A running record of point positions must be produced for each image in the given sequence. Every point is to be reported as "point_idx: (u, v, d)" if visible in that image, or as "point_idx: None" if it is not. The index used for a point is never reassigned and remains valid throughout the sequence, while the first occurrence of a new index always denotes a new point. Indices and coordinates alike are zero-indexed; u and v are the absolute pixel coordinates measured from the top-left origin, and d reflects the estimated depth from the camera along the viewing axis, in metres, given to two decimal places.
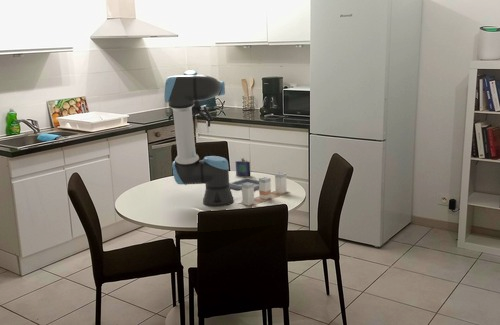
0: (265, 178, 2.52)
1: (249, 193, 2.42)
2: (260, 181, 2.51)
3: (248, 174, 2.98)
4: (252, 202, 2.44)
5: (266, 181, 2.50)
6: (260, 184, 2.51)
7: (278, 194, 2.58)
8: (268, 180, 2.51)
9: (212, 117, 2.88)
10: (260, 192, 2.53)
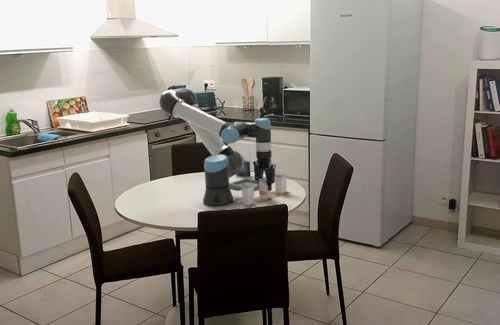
0: (265, 178, 2.52)
1: (249, 193, 2.42)
2: (260, 181, 2.51)
3: (248, 174, 2.98)
4: (252, 202, 2.44)
5: (266, 181, 2.50)
6: (260, 184, 2.51)
7: (278, 194, 2.58)
8: None
9: (274, 181, 2.48)
10: (260, 192, 2.53)
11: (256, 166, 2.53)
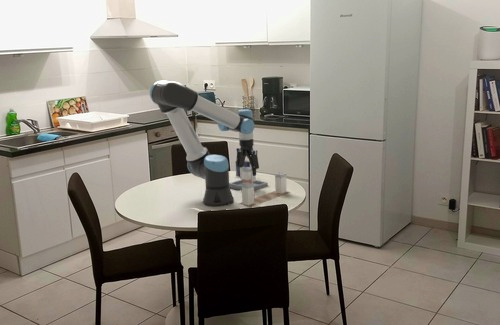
0: (248, 168, 2.74)
1: (249, 193, 2.42)
2: (243, 170, 2.73)
3: None
4: (252, 202, 2.44)
5: (249, 170, 2.72)
6: (243, 173, 2.74)
7: (278, 194, 2.58)
8: None
9: (258, 167, 2.69)
10: (243, 181, 2.75)
11: (239, 153, 2.75)
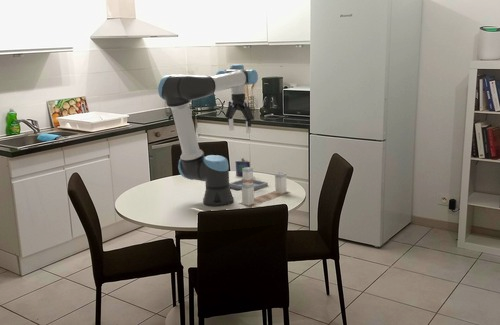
0: (248, 168, 2.74)
1: (249, 193, 2.42)
2: (243, 170, 2.73)
3: None
4: (252, 202, 2.44)
5: (249, 170, 2.72)
6: (243, 173, 2.74)
7: (278, 194, 2.58)
8: (251, 169, 2.73)
9: (253, 117, 2.74)
10: (243, 181, 2.75)
11: (230, 106, 2.83)
